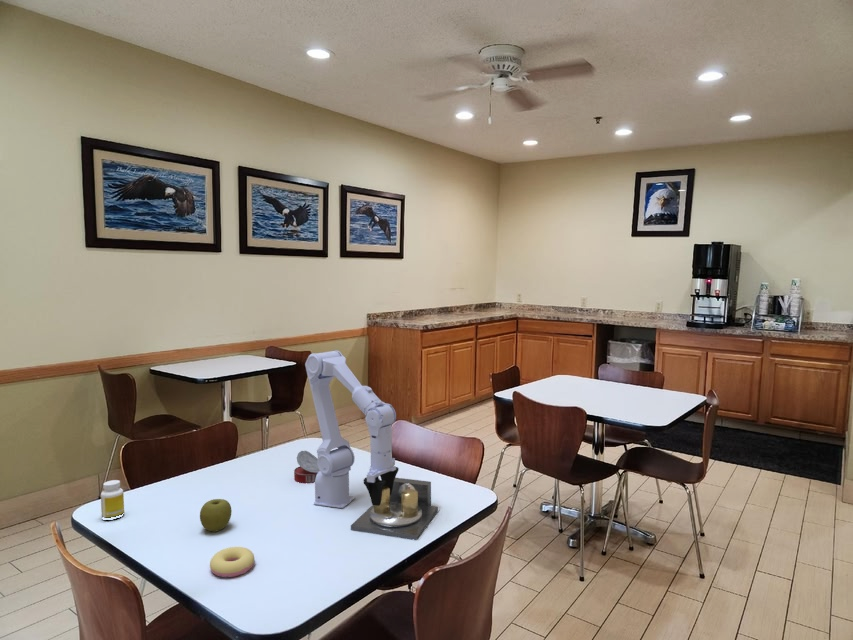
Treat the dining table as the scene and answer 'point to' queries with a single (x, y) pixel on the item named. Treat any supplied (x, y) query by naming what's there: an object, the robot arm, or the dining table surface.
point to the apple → (215, 514)
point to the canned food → (306, 468)
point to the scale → (399, 485)
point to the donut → (232, 562)
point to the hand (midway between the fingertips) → (381, 499)
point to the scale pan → (394, 516)
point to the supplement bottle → (112, 499)
